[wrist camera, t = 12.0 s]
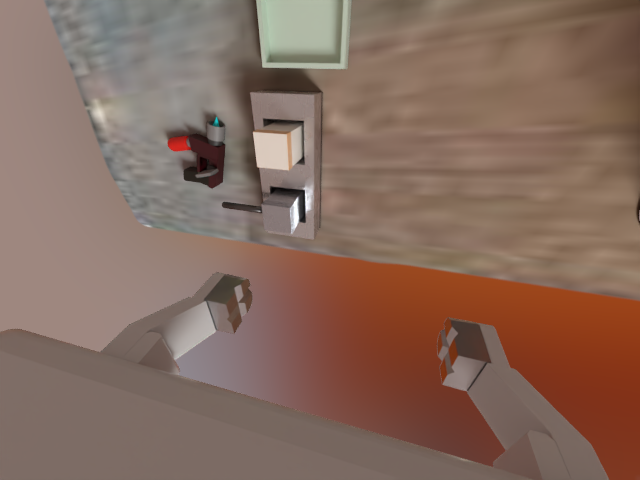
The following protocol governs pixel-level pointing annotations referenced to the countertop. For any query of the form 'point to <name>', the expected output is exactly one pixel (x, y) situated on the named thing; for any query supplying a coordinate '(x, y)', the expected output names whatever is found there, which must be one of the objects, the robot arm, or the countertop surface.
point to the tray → (304, 33)
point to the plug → (279, 144)
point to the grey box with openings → (303, 178)
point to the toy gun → (204, 154)
